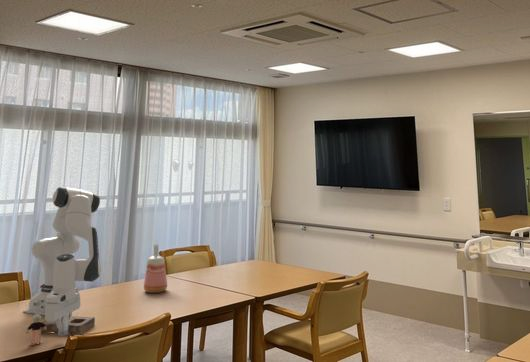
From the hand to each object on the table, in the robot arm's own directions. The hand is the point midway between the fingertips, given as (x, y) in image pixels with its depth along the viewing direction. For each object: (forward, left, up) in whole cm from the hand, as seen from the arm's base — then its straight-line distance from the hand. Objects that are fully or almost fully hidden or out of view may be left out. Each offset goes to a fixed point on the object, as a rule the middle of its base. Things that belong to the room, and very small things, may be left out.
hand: (63, 325), depth 179 cm
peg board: (-7, +15, -7) cm, 18 cm away
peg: (0, 0, -4) cm, 4 cm away
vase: (+8, +86, -7) cm, 87 cm away
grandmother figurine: (-10, -4, -7) cm, 13 cm away
